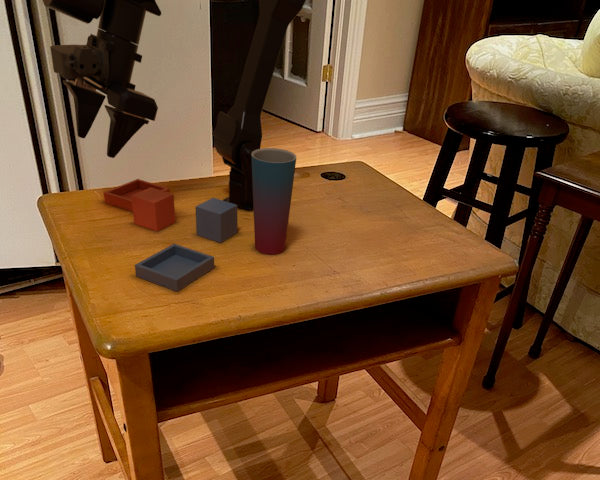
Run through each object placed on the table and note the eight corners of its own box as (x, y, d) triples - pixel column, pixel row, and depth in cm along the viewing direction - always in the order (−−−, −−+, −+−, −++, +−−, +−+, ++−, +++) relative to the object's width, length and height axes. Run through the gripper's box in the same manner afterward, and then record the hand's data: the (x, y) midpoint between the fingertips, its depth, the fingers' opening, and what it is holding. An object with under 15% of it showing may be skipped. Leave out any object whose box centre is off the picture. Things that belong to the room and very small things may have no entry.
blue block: (213, 225, 103) (213, 197, 100) (237, 233, 101) (237, 204, 98) (196, 235, 99) (195, 206, 96) (220, 243, 98) (220, 214, 94)
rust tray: (138, 188, 113) (137, 178, 112) (170, 198, 111) (169, 188, 110) (104, 202, 107) (103, 192, 106) (137, 213, 104) (136, 202, 103)
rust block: (153, 215, 104) (150, 187, 101) (175, 222, 103) (173, 194, 100) (134, 224, 101) (130, 195, 98) (157, 231, 99) (154, 202, 96)
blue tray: (174, 254, 93) (174, 243, 92) (214, 268, 91) (214, 256, 90) (135, 276, 87) (134, 264, 86) (177, 291, 84) (176, 280, 83)
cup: (244, 241, 99) (245, 148, 89) (282, 237, 101) (287, 147, 92) (256, 259, 94) (259, 163, 85) (296, 254, 96) (303, 161, 87)
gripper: (34, 0, 83) (17, 115, 89) (99, 31, 73) (75, 156, 80) (105, 30, 91) (84, 132, 98) (172, 60, 82) (144, 172, 88)
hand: (95, 147), depth 91 cm, fingers open, 9 cm apart
